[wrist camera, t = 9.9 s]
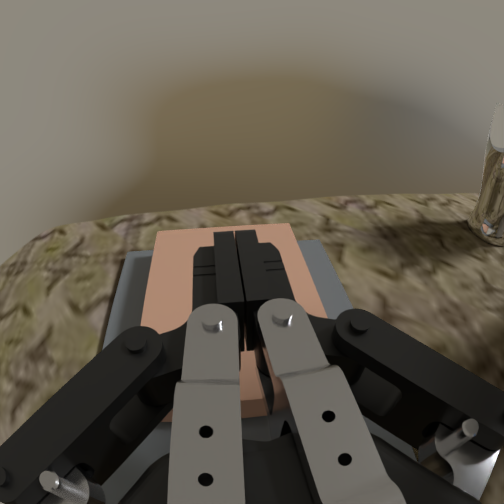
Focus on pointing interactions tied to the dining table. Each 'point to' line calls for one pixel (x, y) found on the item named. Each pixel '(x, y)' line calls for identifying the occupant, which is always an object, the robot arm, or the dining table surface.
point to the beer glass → (491, 187)
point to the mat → (253, 428)
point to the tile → (181, 284)
